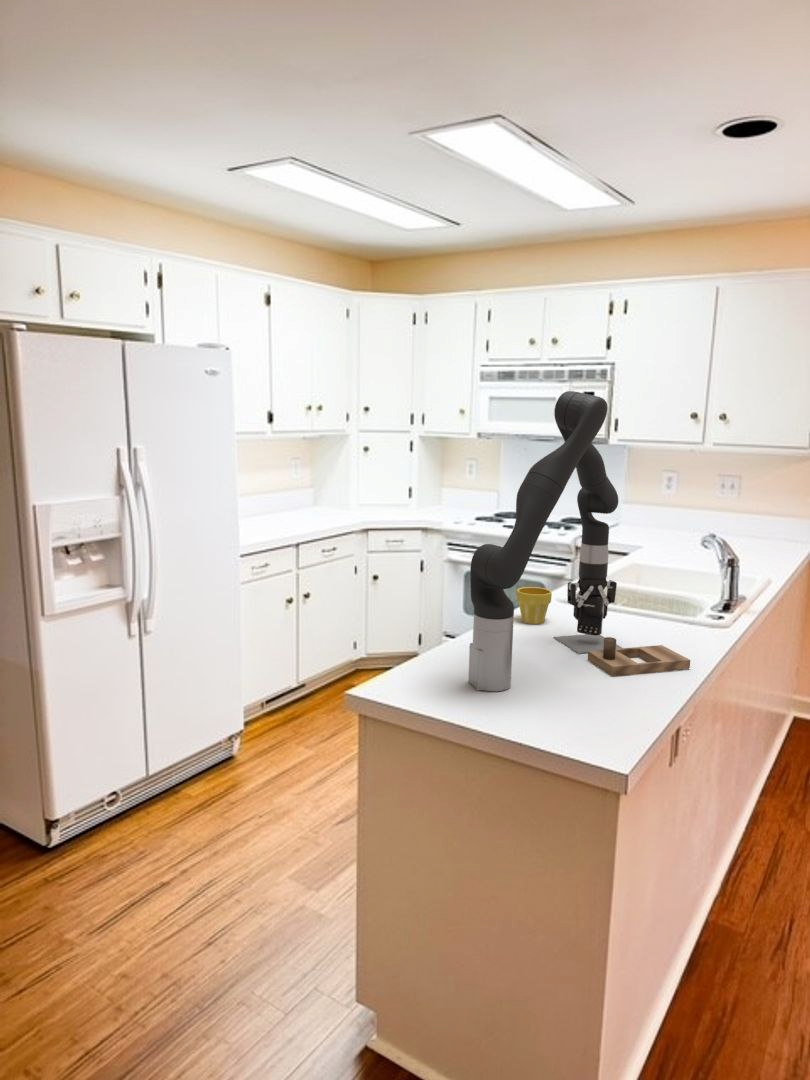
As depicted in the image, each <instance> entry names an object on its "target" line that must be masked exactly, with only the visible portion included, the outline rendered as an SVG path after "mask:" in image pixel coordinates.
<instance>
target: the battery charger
mask: <svg viewBox="0 0 810 1080" xmlns="http://www.w3.org/2000/svg"><path fill="white" fill-rule="evenodd" d="M581 596H583V594H581ZM579 600H580V599H579ZM581 607H582V612H581V620H577V626H576V632H577V633H579V634H582V635H585V634H588V635H602V633H603V620H604V619H603V613H604V599H603V598H602V596H601V595H592V596H589V597H588V598H587V599H586V600H585V601H584V602H583V604H582V606H581Z"/></svg>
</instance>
